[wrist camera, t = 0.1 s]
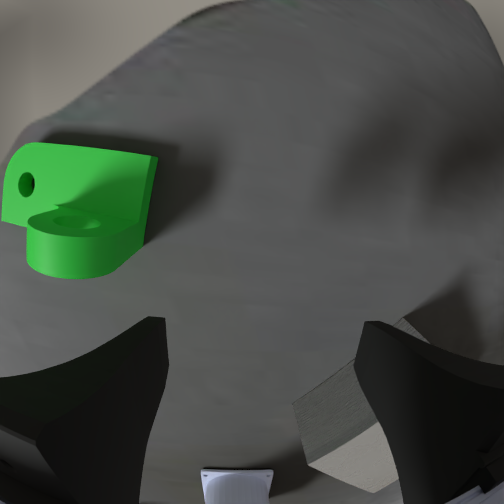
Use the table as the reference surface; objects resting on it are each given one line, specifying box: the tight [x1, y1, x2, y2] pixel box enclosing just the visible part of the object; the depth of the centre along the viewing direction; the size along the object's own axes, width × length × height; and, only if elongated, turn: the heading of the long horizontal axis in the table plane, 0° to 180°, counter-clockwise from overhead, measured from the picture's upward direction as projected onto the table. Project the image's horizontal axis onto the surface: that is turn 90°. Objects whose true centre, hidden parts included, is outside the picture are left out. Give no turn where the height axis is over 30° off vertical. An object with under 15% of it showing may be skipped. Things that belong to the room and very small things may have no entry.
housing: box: [292, 318, 430, 493], centre depth 20 cm, size 12×12×7 cm
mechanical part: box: [1, 142, 158, 279], centre depth 14 cm, size 12×6×8 cm, turn 77°
